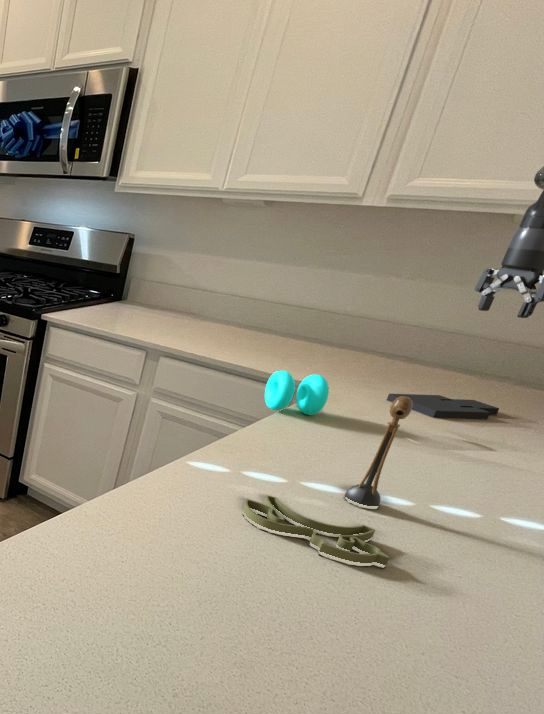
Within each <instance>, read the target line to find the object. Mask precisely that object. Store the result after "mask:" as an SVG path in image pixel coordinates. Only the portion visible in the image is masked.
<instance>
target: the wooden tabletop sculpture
mask: <svg viewBox="0 0 544 714" xmlns="http://www.w3.org/2000/svg"><path fill="white" fill-rule="evenodd" d="M412 407H413V401H412V400H411V399H410V398H409V397H405V396H401V397H398V398H396V399H395V400H394V401H393V402H391V405H390V407H389V414H390V417H391V418H392V420H391V421H388V422H387V427H386V430H385V432H384V435H383V438H382V440H381V442H380V445H379V447H378V449H377V451H376V454H375V456H374V458H373V459H372V462H371V463H370V466H369V468H368V470H367V471H366V473H365V475H364V477H362V479H361V482H360V483H358V484H355V485H352V486H351V487H349V488H348V489H347V491H345V494H344V496H345V497H347V498H348V499H350V500H352V501H354V502H357V503H359V504H363V505H367V506H379V507H380V505H381V495H380V493H379V491H378V485H379V481H380V478H381V477H380V476H381V473H382V470H383V467H384V465H385V462H386V459H387V456H388V453H389V451H390V450H391V449H390V448H391V446H392V444H393V442H394V439H395V437H396V435H397V432H398V430H399V428H401V424H399V422H400V420H404V419H406V418H407V417H408V416H409V415H410V414H411V412H412V411H413V410H412Z"/></svg>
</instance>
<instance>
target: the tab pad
mask: <svg viewBox="0 0 544 714" xmlns="http://www.w3.org/2000/svg"><path fill="white" fill-rule="evenodd" d="M451 399H452V400H444V401H446V402H448V403H451V404H454V405H457V406H460V407H473V408H479V409H482V410H485V411H488V412H490V414H489V416H497V414H498V412H499V410H500V407H497V406H493V405H491V404H488V403H486V402H485V403H484V402H482V401H478V400H476V399H462V398H461V399H460V398H459V399H457V398H451Z"/></svg>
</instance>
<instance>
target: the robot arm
mask: <svg viewBox="0 0 544 714" xmlns="http://www.w3.org/2000/svg"><path fill="white" fill-rule="evenodd" d="M533 182H534V185H535V186H536V187H537V188H538V189H540V190H542V191H541V193H540V195H539V197H538V199H537V200H536V201H535V202H533V203H531V204H530V205H528V206H527V208H526V210H525V212H524V213H523V215H522V219H521V220H520V223H519V225H518V228H517V229H516V231H515V233H514V234H513V236H512V237H511V240H510V242H509V245H508V246H507V249H506V251H505V254H504V256H503V258H502V260H501V263H500V265H501V267H500V269H498V268H491V267H490V268H489V267H488V268H485V269H483V272H482V274H481V275H480V278H479V279H478V282H477V283H476V286H475V288H474V291H475V292H478V293H479V294H481V298H480V300H479V302H478V304H477V308H478V311H482V312H487V311H490V309H491V307H492V305H493V303H494V300H495V295H496V294H498V293H500V292H501V291H504V290H512V291H518V292H519V294H520V295H522V296H523V297H522V298H523V300H524V302H522V304H521V307H520V309H519V311H518V313H517V315H516V317H517V318H520V319H528V318H529V317H531V316H532V315H533V313H534V312H535V309H536V307H537V305H538V304H539V303H543V302H544V165H543V166H541V168H539V169H538V171H536V173H535V175H534V177H533ZM495 278H497V279H496V280H495ZM494 280H495V281H494ZM538 283H539V288H538V285H537V284H538Z"/></svg>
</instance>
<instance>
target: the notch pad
mask: <svg viewBox="0 0 544 714" xmlns="http://www.w3.org/2000/svg"><path fill="white" fill-rule="evenodd" d="M401 396H405V397H409V398H410V399H411V400H412V401H413V407H412V410H411V411H414V412H416V413H420V414H422V415H425V416H427V417H430V418H432V419H459V420H460V419H461V420H462V419H463V420H488V419H489V417H490V415H489V414H490V412H488V411H485V410H482V409H479V408H473V407H460V406H457V405H454V404H451V403H448V402H446V401H444V400H452V399H453V398H450V397H446V396H444V395H440V394H418V393H417V394H415V393H388V395H387V397H386V401H388V402H390V403H392V402H393V401H394V400H395V399H396V398H398V397H401Z"/></svg>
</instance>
